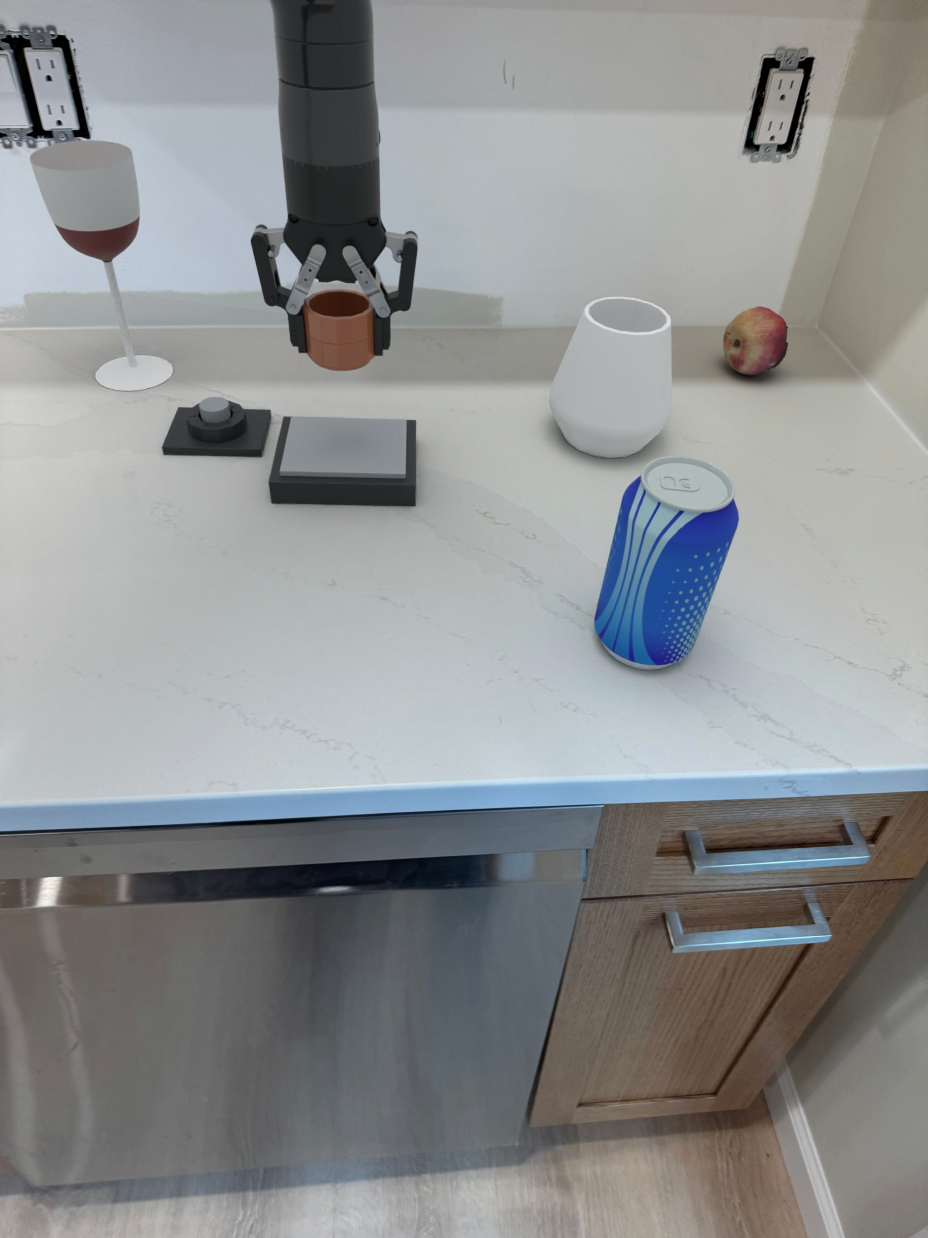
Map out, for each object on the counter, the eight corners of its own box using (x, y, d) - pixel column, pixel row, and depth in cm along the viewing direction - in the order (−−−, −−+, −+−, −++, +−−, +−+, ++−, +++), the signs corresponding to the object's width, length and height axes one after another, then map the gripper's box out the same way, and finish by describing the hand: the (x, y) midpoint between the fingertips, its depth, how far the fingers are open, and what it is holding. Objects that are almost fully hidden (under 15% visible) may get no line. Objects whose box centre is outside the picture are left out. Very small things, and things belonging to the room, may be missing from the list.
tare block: (163, 454, 84) (158, 433, 83) (179, 413, 90) (175, 393, 88) (261, 456, 85) (258, 435, 83) (271, 416, 91) (269, 396, 89)
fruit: (713, 354, 108) (730, 293, 102) (772, 361, 107) (793, 300, 102) (718, 382, 102) (736, 320, 96) (780, 390, 102) (802, 327, 96)
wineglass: (76, 387, 93) (9, 164, 77) (117, 348, 100) (63, 136, 84) (153, 398, 92) (101, 174, 76) (189, 357, 99) (148, 145, 83)
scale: (271, 503, 80) (267, 476, 77) (285, 436, 88) (282, 410, 86) (415, 506, 80) (415, 479, 78) (416, 439, 89) (416, 414, 87)
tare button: (199, 424, 85) (196, 410, 84) (204, 409, 87) (201, 396, 86) (228, 424, 85) (226, 411, 84) (233, 410, 87) (230, 396, 86)
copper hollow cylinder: (304, 372, 73) (299, 317, 70) (311, 340, 78) (307, 287, 74) (374, 374, 73) (373, 320, 70) (377, 342, 78) (375, 289, 74)
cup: (529, 450, 89) (545, 326, 79) (561, 394, 98) (579, 277, 88) (651, 481, 86) (683, 356, 76) (673, 419, 95) (704, 301, 85)
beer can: (631, 591, 73) (673, 435, 62) (711, 642, 69) (771, 485, 58) (570, 636, 69) (604, 476, 57) (652, 693, 65) (705, 533, 53)
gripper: (227, 156, 60) (256, 368, 72) (423, 165, 61) (420, 373, 73) (243, 128, 66) (267, 329, 77) (423, 137, 67) (420, 334, 78)
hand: (341, 350), depth 75 cm, fingers closed on copper hollow cylinder, 6 cm apart
